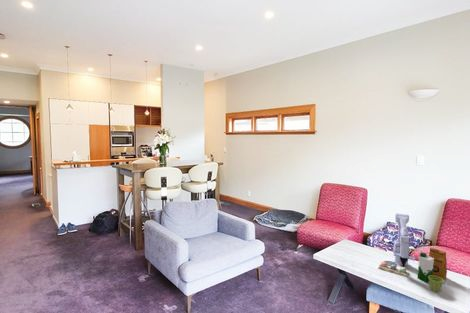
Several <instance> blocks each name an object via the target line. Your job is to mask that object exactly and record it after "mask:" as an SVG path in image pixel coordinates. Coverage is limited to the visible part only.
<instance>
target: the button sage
mask: <svg viewBox="0 0 470 313" xmlns="http://www.w3.org/2000/svg"><path fill="white" fill-rule="evenodd" d="M399 269H400V272H401V273H404V274H406V271H407V268H406V267H399Z"/></svg>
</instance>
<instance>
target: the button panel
mask: <svg viewBox="0 0 470 313" xmlns="http://www.w3.org/2000/svg"><path fill="white" fill-rule="evenodd" d="M381 264H382V263H380V264H379V265H378V266H377V267H378V269H379V270H382V271H385V272H389V273H393V274H396V275H400V276H403V277H407V278H408V277H409V274H410V271H408V270H406V273H402V272H400V268H398V267H396V270H392V269H391V265H387V267H386V268H384V267H382V266H381Z"/></svg>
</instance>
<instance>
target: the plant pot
mask: <svg viewBox="0 0 470 313" xmlns="http://www.w3.org/2000/svg"><path fill="white" fill-rule="evenodd" d="M428 278H429V282H428V283H429V289H430V290H431V291H433V292H436V293H439V292H441V291H442V287H443V283H444V282H445V279H444V280H443V279H442V278H440V277H437V276H433V275H430V276H428Z"/></svg>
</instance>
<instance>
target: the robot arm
mask: <svg viewBox="0 0 470 313" xmlns="http://www.w3.org/2000/svg"><path fill="white" fill-rule="evenodd" d="M394 220H395V223H396V224H397V241H396V242H394V244H393V256H394V259H393V260H392V262H393V263H395V264H396V266H402V267H404V268H406V267H405V266H409V260H411V261H413V262H414V261H415V260H416V258H415V257H414V256H411V255H409V250H410V243H411V235H410V233H409V230H408V228H407V224H408V223H409V221H410V215H409V214H406V213H405V214H403V213H397V212H396V213H395V218H394Z"/></svg>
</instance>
